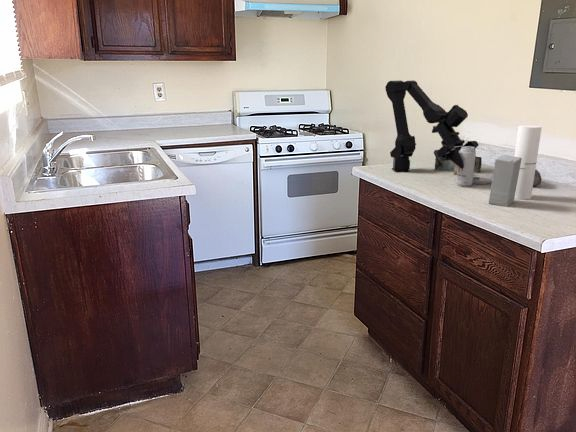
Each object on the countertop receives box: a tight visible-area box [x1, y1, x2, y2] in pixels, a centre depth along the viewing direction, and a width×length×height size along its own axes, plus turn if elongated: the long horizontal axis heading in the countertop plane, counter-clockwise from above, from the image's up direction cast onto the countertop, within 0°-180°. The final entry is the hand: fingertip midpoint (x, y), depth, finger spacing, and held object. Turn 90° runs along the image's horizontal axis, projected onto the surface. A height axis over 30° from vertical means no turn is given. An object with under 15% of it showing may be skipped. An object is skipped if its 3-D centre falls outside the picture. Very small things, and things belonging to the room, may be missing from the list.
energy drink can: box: [455, 145, 477, 188], centre depth 187 cm, size 6×6×15 cm
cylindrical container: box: [513, 124, 542, 201], centre depth 169 cm, size 7×7×25 cm
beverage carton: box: [434, 156, 483, 174], centre depth 216 cm, size 8×19×7 cm, turn 65°
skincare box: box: [488, 154, 522, 207], centre depth 163 cm, size 8×7×16 cm
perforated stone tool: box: [533, 168, 542, 187], centre depth 189 cm, size 15×5×7 cm, turn 2°
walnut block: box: [453, 165, 458, 176], centre depth 206 cm, size 4×4×4 cm
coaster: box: [472, 176, 492, 186], centre depth 195 cm, size 11×11×1 cm
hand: (469, 166), depth 186 cm, fingers open, 7 cm apart
